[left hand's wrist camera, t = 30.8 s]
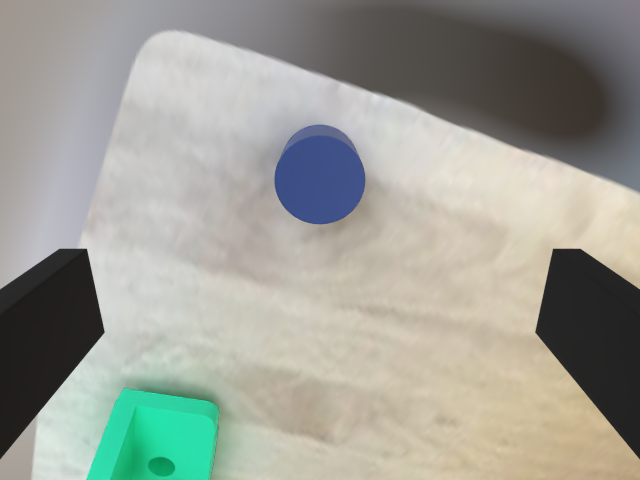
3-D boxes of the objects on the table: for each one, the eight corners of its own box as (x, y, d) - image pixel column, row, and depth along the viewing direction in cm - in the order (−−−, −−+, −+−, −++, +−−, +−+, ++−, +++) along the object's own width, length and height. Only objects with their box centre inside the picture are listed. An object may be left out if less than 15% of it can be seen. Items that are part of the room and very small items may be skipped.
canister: (303, 110, 28) (300, 118, 23) (372, 148, 29) (382, 163, 24) (269, 179, 29) (259, 199, 25) (334, 213, 30) (337, 238, 26)
